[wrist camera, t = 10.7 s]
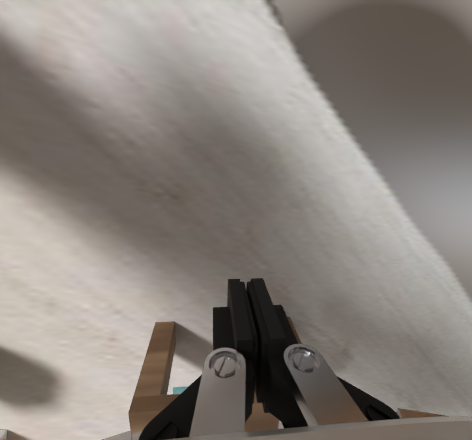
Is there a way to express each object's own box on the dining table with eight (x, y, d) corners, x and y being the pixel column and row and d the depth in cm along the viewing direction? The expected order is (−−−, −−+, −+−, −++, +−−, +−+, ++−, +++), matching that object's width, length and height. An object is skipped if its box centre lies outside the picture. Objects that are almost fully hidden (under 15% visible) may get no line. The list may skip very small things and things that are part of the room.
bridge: (155, 322, 28) (128, 412, 18) (289, 317, 29) (326, 398, 20) (157, 344, 28) (132, 441, 19) (287, 338, 30) (321, 425, 21)
